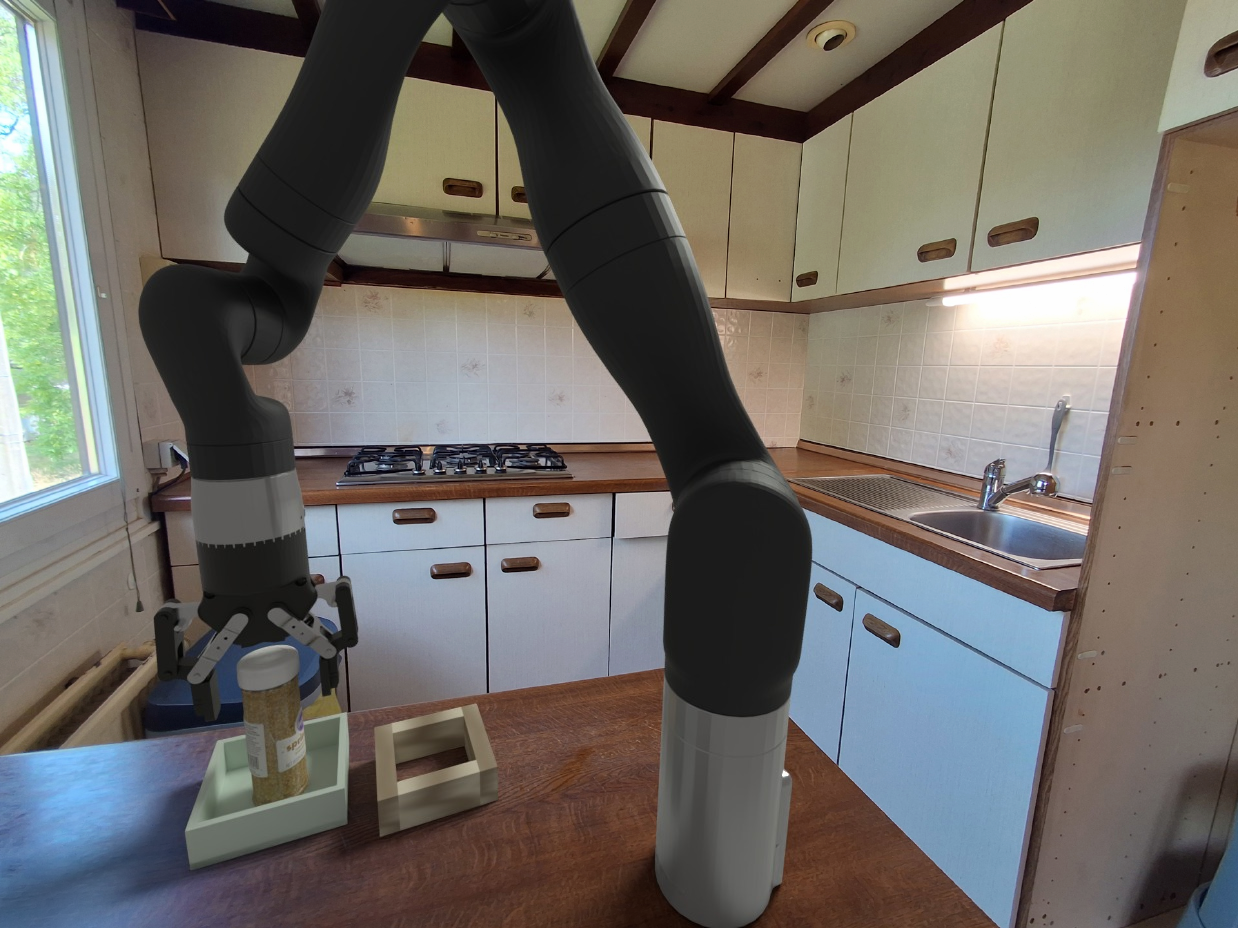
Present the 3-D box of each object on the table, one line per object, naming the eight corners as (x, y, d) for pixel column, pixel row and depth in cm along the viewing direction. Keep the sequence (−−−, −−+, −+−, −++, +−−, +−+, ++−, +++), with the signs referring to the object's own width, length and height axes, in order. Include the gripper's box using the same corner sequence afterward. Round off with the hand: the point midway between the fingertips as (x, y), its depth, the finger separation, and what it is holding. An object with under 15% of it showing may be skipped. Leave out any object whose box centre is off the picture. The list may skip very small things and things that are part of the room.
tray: (349, 742, 57) (346, 711, 56) (347, 823, 47) (344, 787, 47) (221, 773, 53) (217, 740, 52) (190, 870, 43) (184, 831, 42)
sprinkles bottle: (312, 797, 49) (299, 660, 47) (251, 819, 47) (234, 676, 44) (308, 766, 53) (296, 637, 51) (251, 784, 51) (236, 650, 48)
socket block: (477, 732, 59) (476, 703, 59) (498, 799, 50) (497, 766, 50) (376, 758, 55) (374, 727, 54) (379, 836, 46) (377, 801, 46)
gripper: (123, 552, 39) (156, 754, 42) (347, 528, 45) (362, 707, 48) (157, 522, 45) (184, 699, 48) (349, 505, 51) (362, 663, 54)
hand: (272, 702), depth 48 cm, fingers open, 8 cm apart
